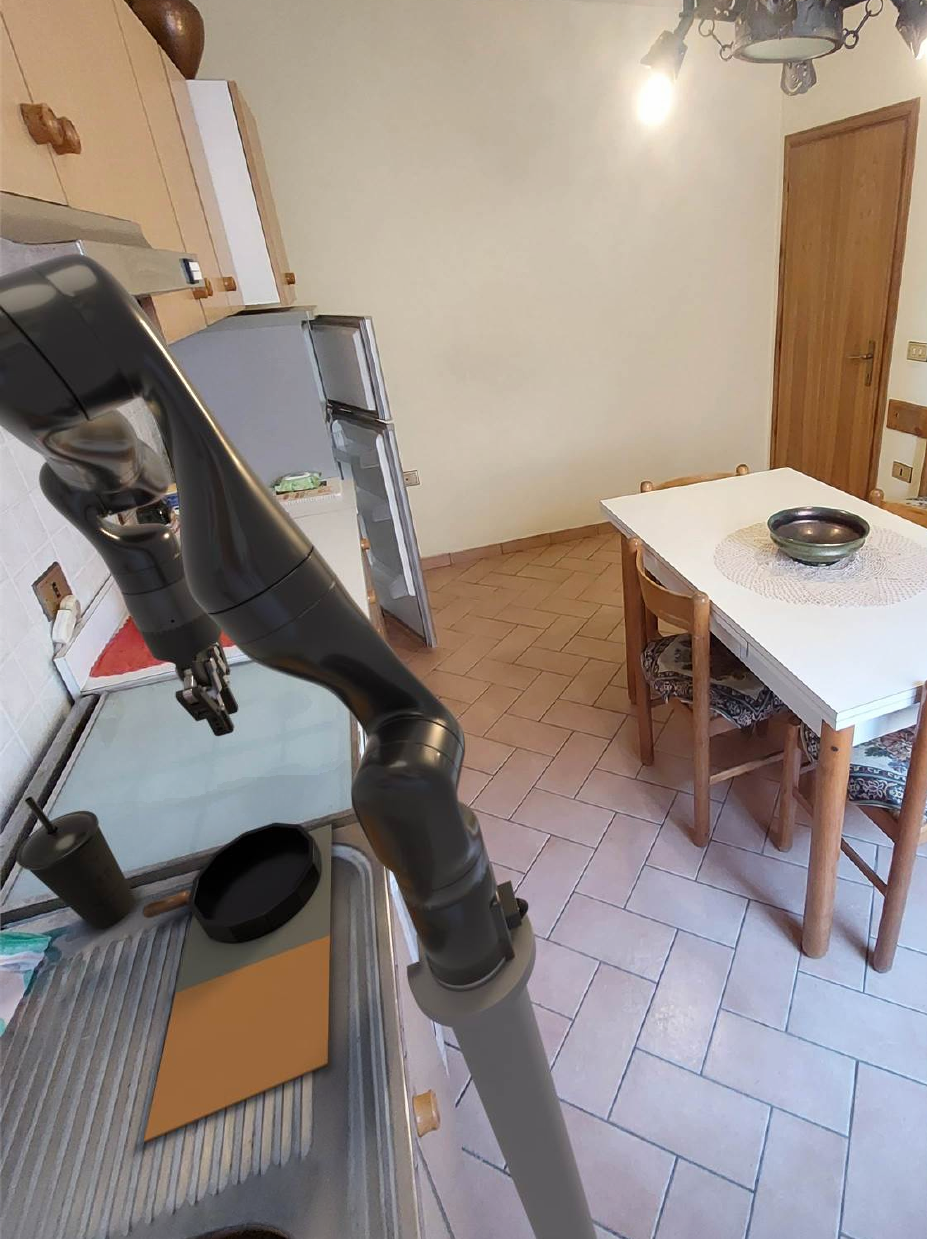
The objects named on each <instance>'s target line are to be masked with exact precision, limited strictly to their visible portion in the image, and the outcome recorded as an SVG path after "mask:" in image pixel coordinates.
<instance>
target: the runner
mask: <svg viewBox="0 0 927 1239" xmlns="http://www.w3.org/2000/svg"><path fill="white" fill-rule="evenodd" d="M332 830H333V825H332V823H330V824H327V825H324V826H321V827H318V828H314V829H312V830H309V831H307V832H308V833H309V834H310V835H311V836H312V837H313V838H314V839H315V842H316V844H317V846H318V848H319V850H320V852H321V861H322V873H321V877H320V881H319V883H318V886H317V888H316V890H315V892H314V894H313V895H312V897H311V898H310V900H309V901H308V902H307V903H306V905H305V906H304V907H303V908H302V909H301V910H300V911H299V912H298V913H297V914H296V915H295V916H294V917H293V918H292V919H291V920H289V921H288V922H287V923H285V924H284V925H283V926H281V927H280V928H278V929H276V930H275V931H273V932H271V933H269V934H267V935H265V936H263V937H261V938H258V939H255V940H252V941H249V942H244V943H237V944H226V943H221V942H218V941H215V940H213V939H210V938H209V937H208V935H207V934H206V933H205V931H204V930H203V928H202V927H201V925H200V924H199V922H198V921H197V920H196V918H195V916H194V915H193V914H192V916H191V922H190V926H189V930H188V935H187V940H186V944H185V947H184V948H185V949H184V954H183V958H182V962H181V967H180V970H179V977H178V980H177V986H176V990H175V995H174V998H173V999H174V1000H173V1005H172V1008H171V1013H170V1019H169V1023H168V1027H167V1032H166V1036H165V1041H164V1045H163V1050H162V1055H161V1060H160V1065H159V1068H158V1074H157V1078H156V1083H155V1086H154V1092H153V1097H152V1101H151V1106H150V1111H149V1115H148V1120H147V1125H146V1128H145V1133H144V1138H143V1142H144V1143H147V1142H150V1141H152V1140H154V1139H157V1138H160V1137H161V1136H163V1135H166V1134H168V1133H171V1132H173V1131H175V1130H177V1129H180V1128H183V1127H185V1126H187V1125H189V1124H192V1123H194V1122H196V1121H199V1120H201V1119H203V1118H206V1117H208V1116H210V1115H213V1114H216V1113H217V1112H220V1111H222V1110H224V1109H227V1108H229V1107H231V1106H234V1105H237V1104H238V1103H241V1102H243V1101H245V1100H248V1099H251V1098H253V1097H255V1096H257V1095H260V1094H262V1093H264V1092H266V1091H269V1090H272V1089H274V1088H276V1087H278V1086H280V1085H283V1084H285V1083H288V1082H290V1081H292V1080H295V1079H297V1078H299V1077H302V1076H304V1075H306V1074H308V1073H312V1072H314V1071H316V1070H318V1069H320V1068H323V1067H325V1066H327V1065H328V1064H329V1019H330V1018H329V1015H330V1014H329V1009H330V959H331V958H330V956H331V954H330V951H331V950H330V949H331V896H332V895H331V894H332V893H331V890H332V889H331V888H332V886H331V884H332V838H333V837H332V834H333V831H332Z"/></svg>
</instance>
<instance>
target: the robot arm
mask: <svg viewBox="0 0 927 1239" xmlns="http://www.w3.org/2000/svg"><path fill="white" fill-rule="evenodd" d="M137 399H141V400H142V401H143V403H145V405H146V406H147V409H148V410H149V411H150V413H151V414H152V417H153V418H154V420H155V423H156V424H157V426H158V428H159V430H160V431H161V434H162V437H163V439H164V442H165V445H166V448H167V451H168V454H169V457H170V461H171V466H172V470H173V476H174V480H175V487H176V494H177V496H176V497H177V504H178V522H179V539H180V541H179V539H178V537H177V536H176V534H175V532H174V531H173V529H172V528H171V527H169V525H166V524H163V523H158V522H157V523H156V522H154V523H141V524H139V523H138V524H129V525H128V524H127V525H124V524H116V523H114V522H111V521H110V520H108V519H106V518H108V517H111V516H115V515H119V514H122V513H127V512H129V511H132V510H135V509H139V508H142V507H146V506H149V505H153V504H155V503H157V502H159V501H160V500H162V499H163V498H164V497H165V496H166V494H167V493H168V491H169V489H170V488H169V487H170V476H169V472H168V470H167V468H166V464H164V461H163V460H162V459H161V457H160V456H159V454H158V453H157V452H156V451H155V450H154V449H153V448H152V446H150V445H149V444H147V443H146V441H143V440H142V439H141V438H140V437H138V435H137V433H136V430H135V428H134V426H133V425H132V423H131V422H130V420H129V419H128V418H127V417H126V416H125V415H123V413H121V411H119V410H118V408H119V409H120V408H121V407H123V406H126V405H127V404H130V403H131V402H133V401H134V400H137ZM0 427H2V428H3V429H4V430H5V431H6V432H8V433H9V434H10V435H12V436H13V437H15V439H17V440H18V441H20V442H21V443H23V445H25V446H27V447H28V448H30V449H31V450H32V451H34V452H36V453H38V454H39V455H41V456H42V457H43V459H44V460H45V462H44V463H43V464H42V465H41V468H40V470H39V474H38V482H39V487H40V490H41V492H42V494H43V496H44V497H45V498H46V500H47V502H48V503H50V505H52V507H53V508H54V509H55V510H56V511H57V512H58V513H59V514H60V515H61V516H62V517H64V518H65V520H67V521H68V522H69V523H70V524H71V525H72V526H73V527H74V528H75V529H77V530H78V532H80V533H81V535H83V537H84V538H85V539H86V540H87V541H88V542H89V544H91V545H92V547H93V548H94V549H95V550H96V551H97V553H98V554H99V556H100V557H101V559H102V560H103V562H104V563H105V565H106V567H107V569H108V570H109V572H110V574H111V576H112V578H113V580H114V582H115V584H116V585H117V587H118V590H119V591H120V593H121V595H122V598H123V601H124V604H125V607H126V609H127V612H128V613H129V615H130V618H131V619H132V621H133V623H134V624H135V628H136V629H137V630H138V632H139V633H140V636H141V638H142V640H143V641H144V644H145V645H146V647H147V649H148V650H149V652H150V654H151V656H152V657H153V658H154V659H155V660H157V661H161V662H168V663H171V664H173V665H175V666H174V671H175V675H176V677H177V680H178V681H179V682H181V684H182V687H183V689H181V690H177V691H175V693H174V694H175V699H176V701H177V702H178V703H179V704H180V705H181V706H182V707H183V709H184V710H185V712H187V713H188V714H189V715H190V716H191V717H192V718H193V720H195V721H196V722H200V721H204V720H206V721H207V723H208V725H209V727H210V729H211V731H212V733H213V735H214V736H215V737H222V736H225V735H229V734H231V733H233V732H234V729H235V725H234V723H233V721H232V718H231V717H230V715H233V714H236V713H238V711H239V705H238V702H237V700H236V698H235V696H234V693H233V692H232V690H231V688H230V686H231V680H230V679H229V677H228V676H230V675H231V668H230V666H229V662H228V660H227V657H226V654H225V651H224V648H223V645H222V644H223V643H222V641H221V636H222V632H223V634H224V635H225V636H226V637H227V638H228V639H229V640H230V641H231V642H232V644H234V645H235V646H236V647H237V648H238V650H239V651H240V652H241V653H242V654H244V655H245V656H246V657H247V658H249V659H250V660H251V661H253V662H254V663H256V664H257V665H260V666H262V667H263V668H266V669H268V670H271V671H274V672H276V673H279V674H281V675H284V676H287V677H291V678H294V679H297V680H300V681H304V682H306V683H310V684H314V685H315V686H319V687H321V688H323V689H324V690H327V691H328V692H330V693H331V694H332V695H334V696H335V697H336V698H337V699H338V700H339V701H340V702H341V703H342V704H343V706H345V707H346V709H347V710H348V711H349V712H350V714H351V715H352V716H353V717H354V719H355V720H356V722H358V724H359V725H360V726H361V728H362V730H363V731H364V733H365V736H366V738H367V743H366V745H365V748H364V751H363V753H362V756H361V758H360V761H359V763H358V767H357V768H356V771H355V773H354V776H353V779H352V782H351V789H350V797H351V804H352V807H353V808H352V809H353V811H354V813H355V816H356V819H357V821H358V823H359V825H360V828H361V829H362V831H363V833H364V835H365V837H366V839H367V841H368V843H369V845H370V847H371V849H372V851H373V853H374V855H375V857H376V858H377V860H378V861H379V863H380V864H381V865H383V867H385V868H386V869H387V870H388V871H390V872H391V873H392V874H393V877H394V879H395V882H396V884H397V887H398V889H399V893H400V895H401V897H402V900H403V902H404V905H405V907H406V910H407V912H408V915H409V918H410V920H411V923H412V925H413V927H414V930H415V933H416V935H418V938H419V941H420V944H421V946H422V949H423V951H424V953H425V956H426V959H427V962H428V965H429V968H430V971H431V973H432V976H433V977H434V979H435V980H436V982H437V983H438V984H439V985H441V986H442V987H444V988H446V989H448V990H451V991H457V992H464V991H470V990H474V989H476V988H479V987H481V986H483V985H485V984H486V983H488V982H489V981H490V980H492V979H493V978H494V977H495V976H496V975H497V974H498V973H499V972H500V970H501V969H502V968H503V966H504V965H505V963H506V962H507V961H509V960H511V959H513V958H515V952H514V947H513V943H512V937H511V931H510V930H511V929H514V928H516V927H519V926H521V925H522V921H521V920H522V919H523V917H524V916H525V914H526V913H527V914H528V911H529V902H528V901H527V900H526V899H524V898H521V897H516V894H515V891H514V887H513V882H512V880H508V881H505V882H503V883H500V884H498V882H497V878H496V874H495V871H494V867H493V864H492V861H490V857H489V854H488V851H487V847H486V843H485V840H484V836H483V831H482V829H481V825H480V821H479V818H478V817H477V814H476V812H474V810H473V809H472V808H471V807H470V806H469V805H467V803H466V804H465V803H464V802H462V801H459V797H458V791H459V784H460V780H461V777H462V776H461V775H462V770H463V765H464V760H465V755H466V739H465V733H464V731H463V728H462V726H461V724H460V723H459V721H458V719H457V718H456V717H455V715H454V714H453V713H452V712H451V710H450V709H449V708H448V706H446V705H445V704H444V703H443V702H442V700H440V699H439V698H438V696H437V695H436V694H434V692H432V691H431V689H430V688H429V687H428V686H427V685H426V684H425V683H424V682H423V681H422V680H421V679H420V678H419V677H418V676H417V675H416V674H415V673H414V672H413V671H412V670H411V669H410V668H409V667H408V665H406V664H405V662H404V661H403V660H402V659H401V658H400V657H399V656H398V655H397V653H396V652H395V650H393V648H392V647H391V646H390V644H389V642H387V640H386V639H385V638H384V636H383V635H382V634H381V632H380V631H379V630H378V629H377V627H376V626H375V625H374V623H373V622H372V621H371V620H370V619H369V617H368V616H367V615H366V613H365V612H364V611H363V609H362V608H361V607H360V606H359V605H358V604H357V602H356V601H355V599H354V598H353V597H352V596H351V594H350V592H349V591H348V590H347V588H346V587H345V586H344V584H343V583H342V581H341V580H340V578H339V576H338V575H337V573H336V572H335V571H334V569H333V568H332V567H331V566H330V564H329V563H328V562H327V561H326V560H325V558H324V557H323V555H322V554H321V552H320V551H319V550H318V549H317V547H316V546H315V545H314V543H313V542H312V541H311V540H310V539H309V537H308V536H307V535H306V534H305V532H304V531H303V530H302V529H301V527H300V526H299V525H298V524H297V522H296V521H295V520H294V519H293V518H292V516H291V515H290V514H289V513H288V512H287V510H286V509H285V507H284V506H283V504H281V503H280V502H279V500H278V499H277V498H276V497H275V496H274V494H273V493H272V492H271V490H270V489H269V488H268V486H267V484H265V483H264V482H263V480H262V479H261V477H260V476H259V475H258V474H257V473H256V472H255V470H254V469H253V468H252V466H251V465H250V463H249V462H248V461H247V459H246V458H245V457H244V455H243V454H242V452H241V451H240V450H239V449H238V447H237V446H236V445H235V443H234V442H233V440H232V439H231V438H230V436H229V434H228V433H227V431H226V430H225V428H224V427H223V426H222V424H221V423H220V421H219V419H218V418H217V416H216V415H215V414H214V412H213V410H212V409H211V408H210V406H209V405H208V402H206V400H205V399H204V397H203V395H202V394H201V392H200V391H199V390H198V388H197V387H196V385H195V384H194V382H193V380H192V379H191V378H190V376H189V374H188V373H187V371H186V370H185V369H184V366H182V364H181V363H180V361H179V359H178V358H177V357H176V354H174V352H173V351H172V349H171V348H170V346H169V345H168V343H167V342H166V340H165V339H164V337H163V335H161V333H160V332H159V330H158V329H157V327H156V326H155V325H154V323H153V322H152V320H151V318H149V316H148V315H147V313H146V312H145V310H144V309H143V308H142V307H141V305H140V304H139V303H138V301H137V300H136V299H135V298H134V296H133V295H132V294H131V293H130V292H129V291H128V289H127V288H126V287H125V286H124V284H122V283H121V282H120V280H118V278H117V277H115V275H114V274H112V273H111V271H109V269H107V268H106V267H105V266H104V265H102V264H100V263H99V262H98V261H97V260H95V259H93V258H91V257H89V256H86V255H84V254H81V253H69V254H64V255H59V256H55V257H53V258H50V259H46V260H43V261H41V262H38V263H35V264H32V265H29V266H26V267H24V268H21V269H18V270H15V271H12V272H9V273H6V274H3V275H1V276H0ZM518 908H519V910H518Z"/></svg>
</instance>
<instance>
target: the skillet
mask: <svg viewBox="0 0 927 1239" xmlns="http://www.w3.org/2000/svg"><path fill="white" fill-rule="evenodd" d="M308 832H309V831H307V830H306V829H305V828H304V827H303V825H301V824H298V823H287V822H271V823H268V824H266V825H262V826H259V827H257V828H253V829H251V830H247V831H245V832H243V833H241V834H239V835H238V836H236V837H235V838H233V839H232V840H231V841H230V842H228V843H227V844H225V845H224V846H222V847H220V848H219V849H218V850H216V851H214V853H213V854H212V855H211V857H210V858H209V859H208V860H207V862H206V863H205V864H204V866H202V867H201V869H200V870H199V871H198V873H197V875H196V876H195V877H194V878H193V880H192V884H191V889H188V890H184V891H182V892H179V893H176V894H173V895H169V896H166V897H165V898H164V897H163V898H160V899H157V900H155V901H151V902H149V903H147V904H145V906H144V907H143V909H142V916H143V917H145V918H147V919H151V918H153V917H157V916H160V915H163V914H165V913H168V912H172V911H174V910H177V909H180V908H184V907H186V906H187V907H188V909H189V910H190V912H191V913H192V916H193V915H194V916H195V918H196V920H197V921H198V922H199V924H200V925H201V927H202V928H203V930H204V931H205V933H206V934H207V935H208V937H209V938H210V939H213V940H215V941H218V942H221V943H226V944H237V943H244V942H249V941H252V940H255V939H258V938H261V937H263V936H265V935H267V934H269V933H271V932H273V931H275V930H276V929H278V928H280V927H281V926H283V925H284V924H285V923H287V922H288V921H289V920H291V919H292V918H293V917H294V916H295V915H296V914H297V913H298V912H299V911H300V910H301V909H302V908H303V907H304V906H305V905H306V903H307V902H308V901H309V900H310V898H311V897H312V895H313V894H314V892H315V890H316V888H317V886H318V883H319V881H320V877H321V873H322V861H321V852H320V850H319V848H318V846H317V844H316V842H315V839H314V838H313V837H312V836H311V835H310V834H309V833H308Z"/></svg>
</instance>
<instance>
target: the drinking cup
mask: <svg viewBox="0 0 927 1239" xmlns="http://www.w3.org/2000/svg"><path fill="white" fill-rule="evenodd" d="M24 802H25V803H26V805H27V806H28V808H29V809H30V810H31V811H32V813H33V814H34V816H36V819H38V821H39V822H40V823H41V826H40V827H39V828H38V829H36V830H35V831H33V833H31V834H30V835H29V836H28V837H27V838H26V839H25V840H24V841H23V843H22V844H21V845H20V847H19V848H18V851H17V852H16V863H17V864H18V866H19V867H20V868H22V869H24V870H26V871H29V872H30V873H32V874H33V875H34V876H35V877H36V878H37V879H38V880H39V881H40V882H42V884H44V885H45V886H46V887H47V888H48V889H49V890H50V891H51V892H53V893H54V895H56V896H57V897H58V898H59V899H60V900H61V901H62V902H64V904H66V905H67V906H68V907H69V908H70V909H71V910H73V912H74V913H75V914H77V915H78V916H79V917H80V918H81V919H82V920H83V921H84V922H85V923H87V924H88V926H90V927H91V928H92V929H94V930H102V929H106V928H110V927H111V926H114V925H115V924H117V923H119V922H120V921H121V920H123V919H124V918H125V917H126V916H127V915H128V914H129V913H130V912H131V910H132V909H133V907H134V905H135V902H136V896H135V895H134V893H133V891H132V889H131V887H130V884H129V882H128V881H127V878H126V877H125V875H124V873H123V871H122V869H121V867H120V865H119V863H118V860H117V859H116V858H115V855H114V853H113V851H112V849H111V848H110V846H109V844H108V841H107V840H106V838H105V835H104V834H103V832H102V830H101V827H100V826H99V824H100V821H99V820H100V819H99V818H98V816H97V814H95V813H94V812H92V811H89V810H76V811H72V812H69V813H66V814H63V815H60V816H58V817H56V818H54V819H51V820H50V819H49V818H48V816H47V815H46V814H45V812H44V811H43V809H42V808H41V807H40V805H39V804H38V802H37V801H36V800H35V798H33V796H28V797H27V798H25V799H24Z"/></svg>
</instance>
